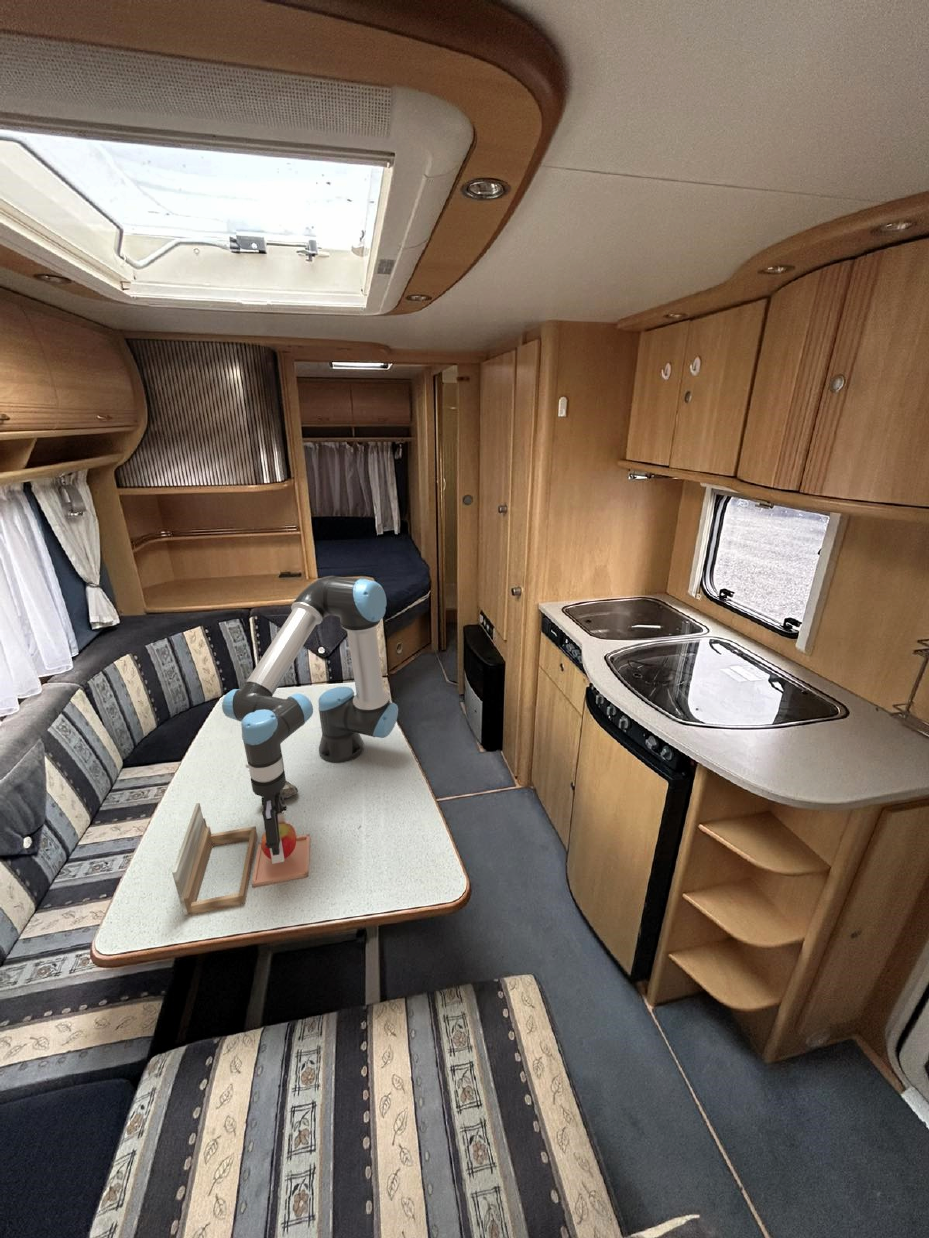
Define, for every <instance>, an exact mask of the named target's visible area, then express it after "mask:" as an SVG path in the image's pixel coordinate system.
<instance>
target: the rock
mask: <svg viewBox="0 0 929 1238" xmlns="http://www.w3.org/2000/svg"><path fill="white" fill-rule="evenodd" d="M281 791H282V795H283V799H287V798H288V799H289V798H291V797H292V796H295V795H297V794H298V793H299V789H298V787H296V786H295V785H294V784H293V783H291V782H289V781H288V780H286V784H285V786H284V788H283V789H282V790H281Z"/></svg>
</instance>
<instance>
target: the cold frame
mask: <svg viewBox="0 0 929 1238" xmlns="http://www.w3.org/2000/svg"><path fill="white" fill-rule="evenodd" d="M203 815H204V814H203V811H202V807H201V803H200V802H196V803H195V806H194V809H193V811H192V815H191V818H190V820H189V822H188V826H187V828H186V832H185V834H184V837H183V840H182V843H181V846H180V849H179V850H178V851H179V852H178V855H177V858H176V860H175V863H174V866H173V868H172V871H171V874H172V878H173V881H174V886H175V887H176V892H177V895H178V898H179V902H180V904H181V908H182V912H183V916H188V915H189V916H190V915H194V914H201V913H204V912H210V911H215V910H219V909H224V908H225V909H226V908H229V907H235V906H240V905H241V906H242V905H245V903H246V900H247V894H248V888H249V882H250V877H251V871H252V868H253V861H254V857H255V850H256V845H257V840H258V832H257V831H258V830H257V826H255V825H254V826H250V827H244V828H239V829H232V830H226V831H220V832H215V833H212V831H211V827H210V826H207V821H206V818H204V816H203ZM244 841H248V845H247V849H246V854H245V860H244V864H243V871H242V876H241V881H240V885H239V891H238V892H236V893H232V894H227V895H222V896H221V895H220V896H216V897H211V898H207V899H201V900H198V897H199V894H200V890H201V887H202V884H203V881H204V878H205V877H204V876H205V873H206V870H207V867H208V863H209V860H210V857H211V853H212V850H213V847H214V846H213V845H215V846H218V845H219V846H220V844H221V845H226V844H225V843H227V844H231V843H230V842H233V843H238V842H244ZM212 846H213V847H212Z"/></svg>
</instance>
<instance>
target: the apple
mask: <svg viewBox="0 0 929 1238" xmlns="http://www.w3.org/2000/svg"><path fill="white" fill-rule="evenodd" d="M279 836H280V839H281V842H282V848H283V854H284V859H285V858H287V857H288V856H289V855H290V854H291V853H292V852H293V850H294V848H295V845H296V836H297V833H296V831H295V828H294V826H293V825H291V824H290V823H288V822H286V823H279ZM260 843H261V847H262V850H263V852H264V854H265V855H266V856H267V857H268V858H269V859H272V858H271V853H270V848H269V849H267V846H265V843H266V834H265V832H264V833H263V835H262V837H261V840H260Z"/></svg>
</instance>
